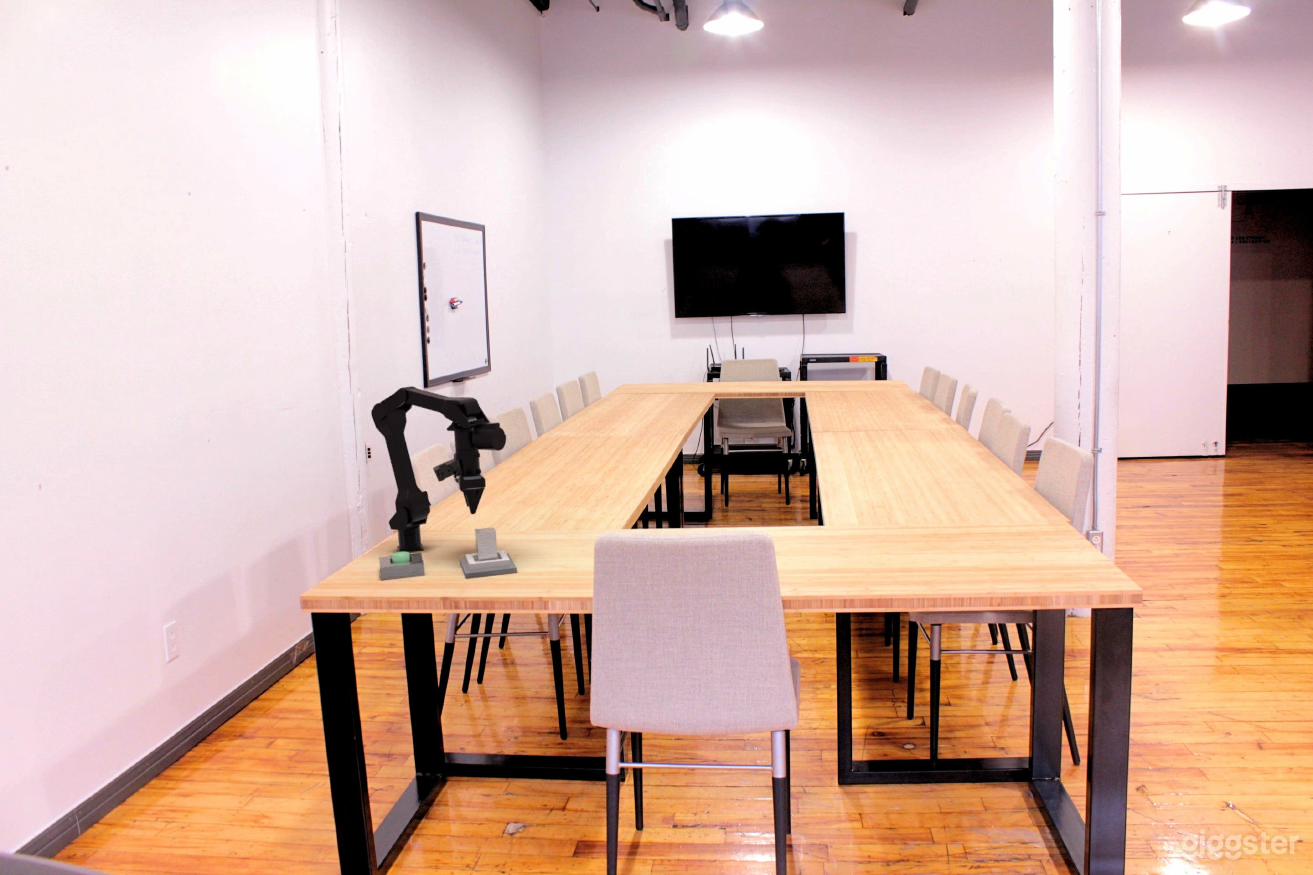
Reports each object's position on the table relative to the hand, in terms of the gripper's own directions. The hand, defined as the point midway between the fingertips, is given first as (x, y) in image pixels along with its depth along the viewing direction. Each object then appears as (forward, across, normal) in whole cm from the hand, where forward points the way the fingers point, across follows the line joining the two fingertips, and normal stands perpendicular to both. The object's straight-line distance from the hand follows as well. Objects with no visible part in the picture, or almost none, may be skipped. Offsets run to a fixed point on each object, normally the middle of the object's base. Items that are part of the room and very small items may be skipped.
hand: (471, 510), depth 248 cm
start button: (+11, +7, -18) cm, 22 cm away
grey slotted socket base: (+12, +12, +2) cm, 17 cm away
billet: (+11, +12, +2) cm, 16 cm away
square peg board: (+12, +7, -18) cm, 23 cm away
